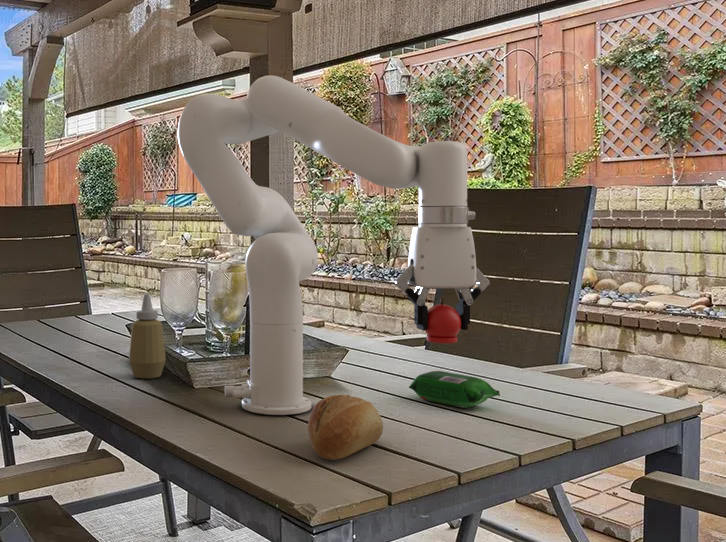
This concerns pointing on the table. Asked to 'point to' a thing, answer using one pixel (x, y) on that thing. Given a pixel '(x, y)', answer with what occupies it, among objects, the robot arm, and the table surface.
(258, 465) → the table surface
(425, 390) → the snack package
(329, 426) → the bread roll
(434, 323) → the candle
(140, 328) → the squeeze bottle
